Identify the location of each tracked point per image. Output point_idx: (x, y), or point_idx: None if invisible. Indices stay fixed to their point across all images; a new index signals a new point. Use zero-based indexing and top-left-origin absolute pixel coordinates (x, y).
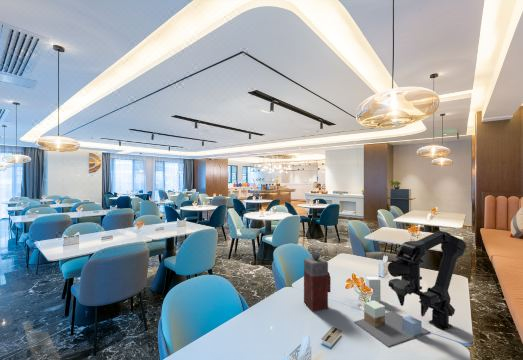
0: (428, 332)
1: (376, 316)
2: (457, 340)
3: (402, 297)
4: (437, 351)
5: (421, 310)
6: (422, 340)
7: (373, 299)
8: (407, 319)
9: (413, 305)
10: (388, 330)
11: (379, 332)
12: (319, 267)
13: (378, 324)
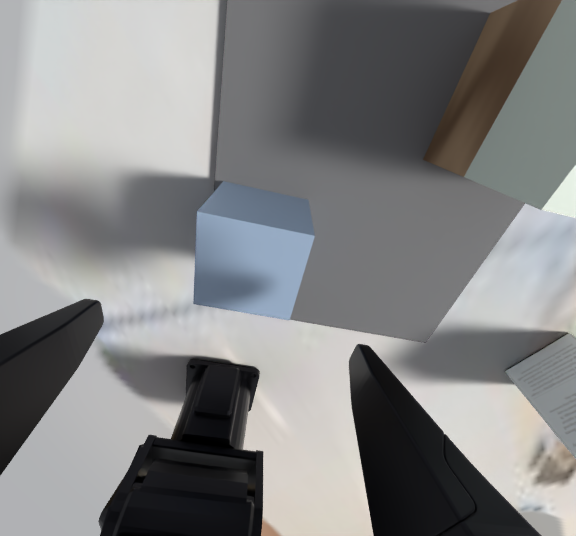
0: None
1: (570, 7)
2: (112, 330)
3: (383, 464)
4: (57, 150)
5: (7, 349)
6: (176, 195)
7: (561, 362)
8: (269, 245)
9: None
10: (374, 90)
11: None
12: None
13: (473, 70)
